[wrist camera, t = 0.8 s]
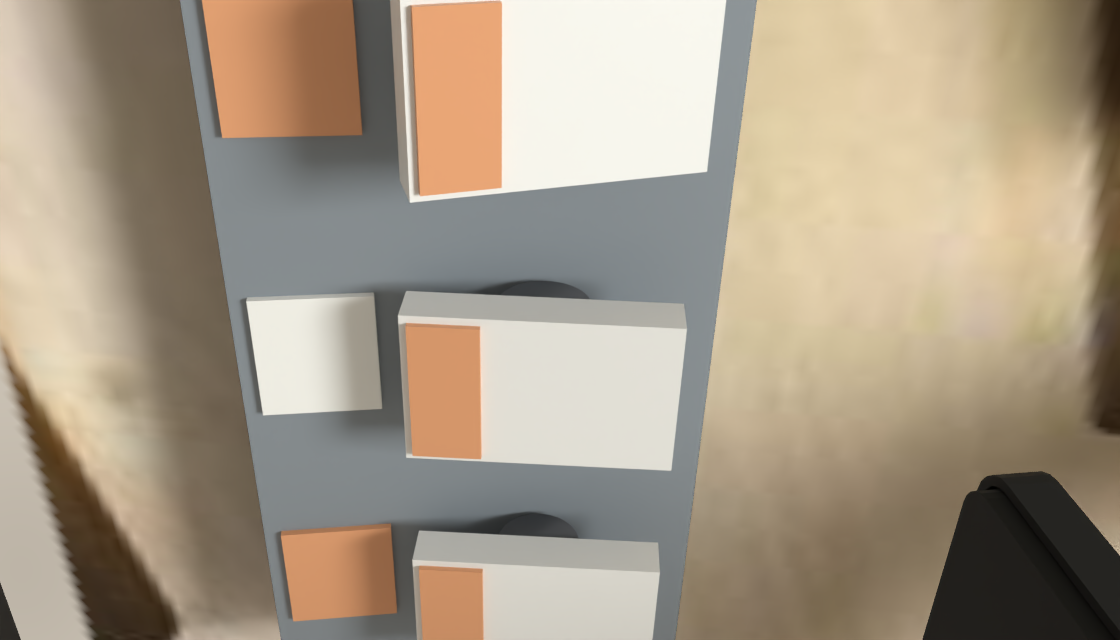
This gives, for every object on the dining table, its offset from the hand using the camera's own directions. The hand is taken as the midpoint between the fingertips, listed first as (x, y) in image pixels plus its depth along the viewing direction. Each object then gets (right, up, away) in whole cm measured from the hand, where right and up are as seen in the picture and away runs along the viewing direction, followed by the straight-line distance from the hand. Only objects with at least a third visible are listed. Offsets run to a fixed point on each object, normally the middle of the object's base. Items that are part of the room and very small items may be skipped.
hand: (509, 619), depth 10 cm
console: (-2, +4, +21) cm, 22 cm away
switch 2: (0, +2, +18) cm, 18 cm away
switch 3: (0, -5, +22) cm, 23 cm away
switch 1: (0, +9, +14) cm, 17 cm away
